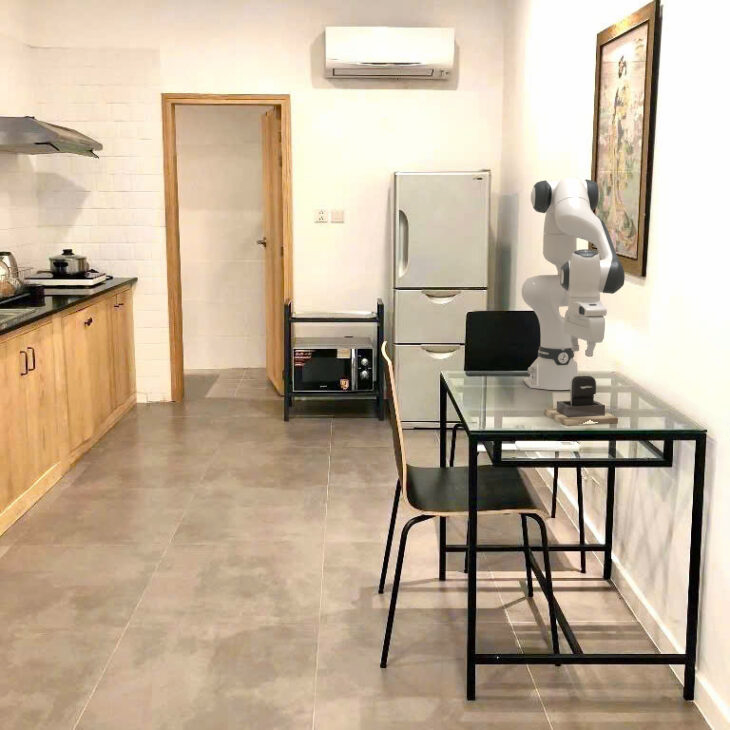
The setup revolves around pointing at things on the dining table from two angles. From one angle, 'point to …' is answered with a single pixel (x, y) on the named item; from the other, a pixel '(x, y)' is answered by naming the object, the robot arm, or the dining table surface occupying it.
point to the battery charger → (582, 390)
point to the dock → (580, 413)
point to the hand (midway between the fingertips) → (582, 353)
